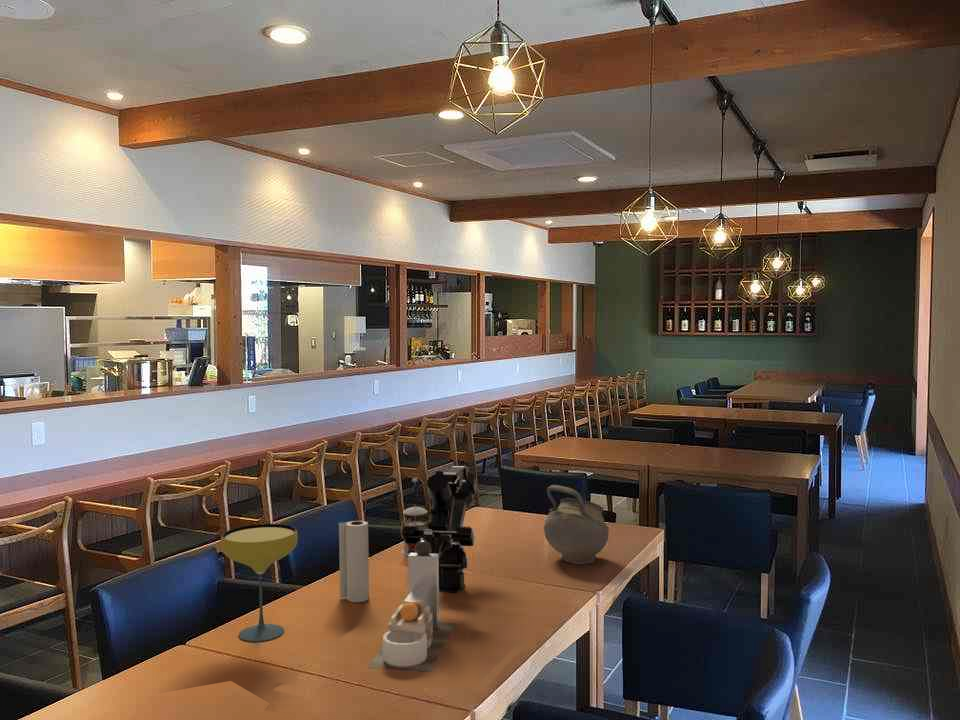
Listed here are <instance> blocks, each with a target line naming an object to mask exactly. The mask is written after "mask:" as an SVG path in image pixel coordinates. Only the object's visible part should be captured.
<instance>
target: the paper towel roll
mask: <svg viewBox="0 0 960 720" xmlns="http://www.w3.org/2000/svg"><path fill="white" fill-rule="evenodd" d="M338 540H339V541H338V544H339V546H338V548H339V551H338V553H339V557H338V558H339V598H340V599H344V598H346V599H347V601H348V602H350V603H362V602H363V603H364V602H366V601H368V600H369V599H370V568H369V567H370V565H369V564H370V562H369V558H370V557H369V556H370V555H369V522H368V521H367V520H366V521H365V520H353V521H352V520H351V521H347V522H339V523H338Z"/></svg>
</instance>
